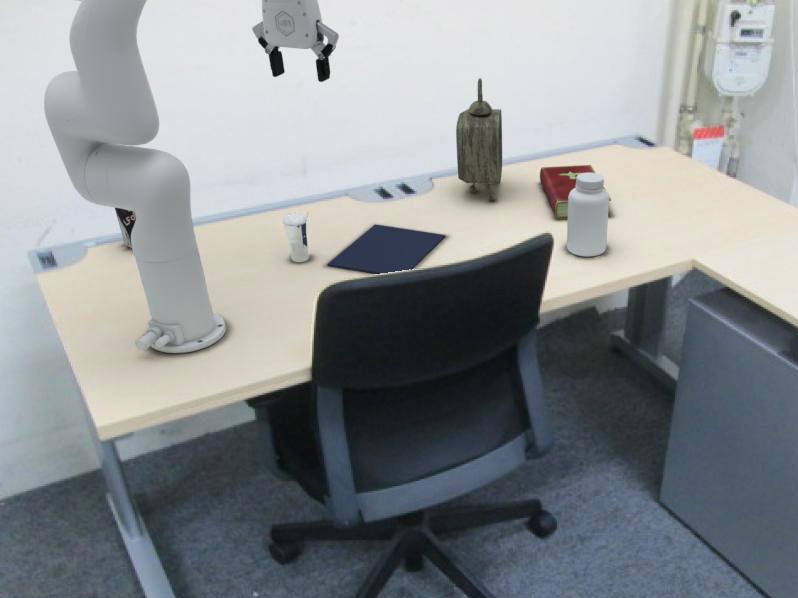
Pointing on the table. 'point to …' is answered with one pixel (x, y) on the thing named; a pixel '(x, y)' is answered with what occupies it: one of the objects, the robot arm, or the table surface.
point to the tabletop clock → (479, 144)
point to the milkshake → (297, 236)
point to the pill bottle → (587, 216)
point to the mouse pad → (386, 250)
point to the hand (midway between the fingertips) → (301, 77)
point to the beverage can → (126, 224)
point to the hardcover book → (561, 186)
